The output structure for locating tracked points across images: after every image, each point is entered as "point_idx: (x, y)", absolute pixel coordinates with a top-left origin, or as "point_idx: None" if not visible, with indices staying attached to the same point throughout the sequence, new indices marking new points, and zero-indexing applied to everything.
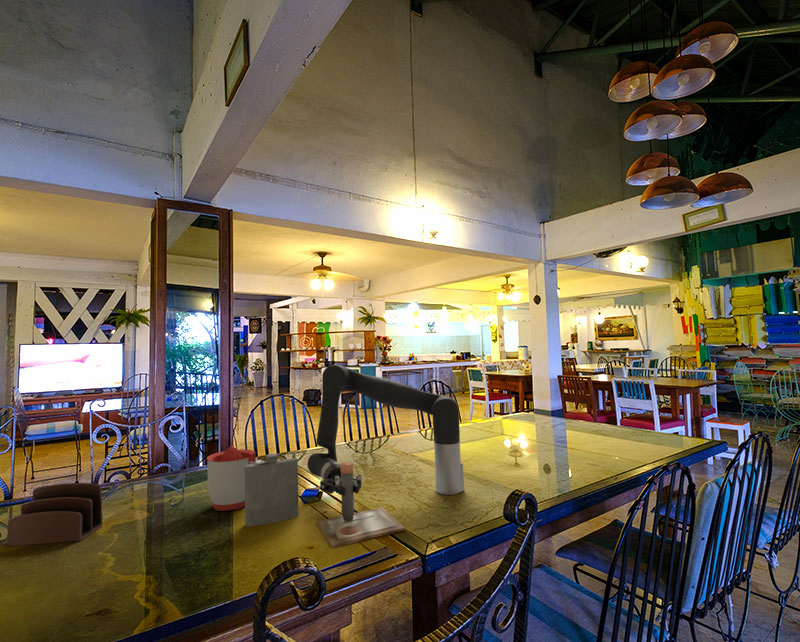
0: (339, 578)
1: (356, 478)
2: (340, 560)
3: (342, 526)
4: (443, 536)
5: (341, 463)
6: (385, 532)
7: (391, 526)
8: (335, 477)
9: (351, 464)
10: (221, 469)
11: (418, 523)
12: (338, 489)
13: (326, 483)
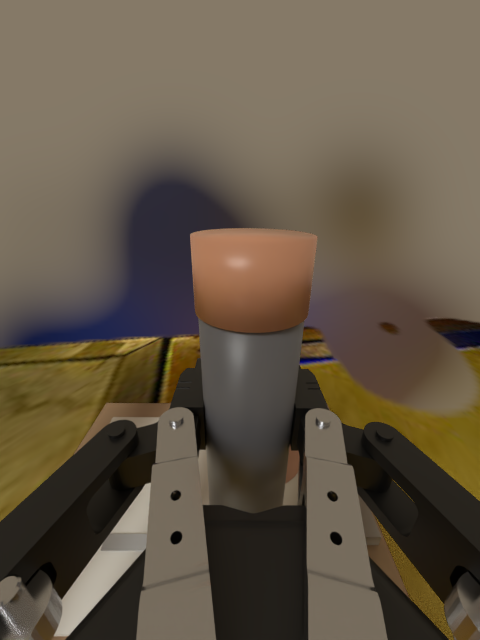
0: (312, 337)
1: (32, 592)
2: (307, 367)
3: (283, 499)
4: (75, 361)
5: (304, 239)
6: (168, 403)
7: (130, 418)
8: (366, 588)
9: (223, 229)
10: None
11: (32, 429)
12: (317, 383)
13: (454, 488)
